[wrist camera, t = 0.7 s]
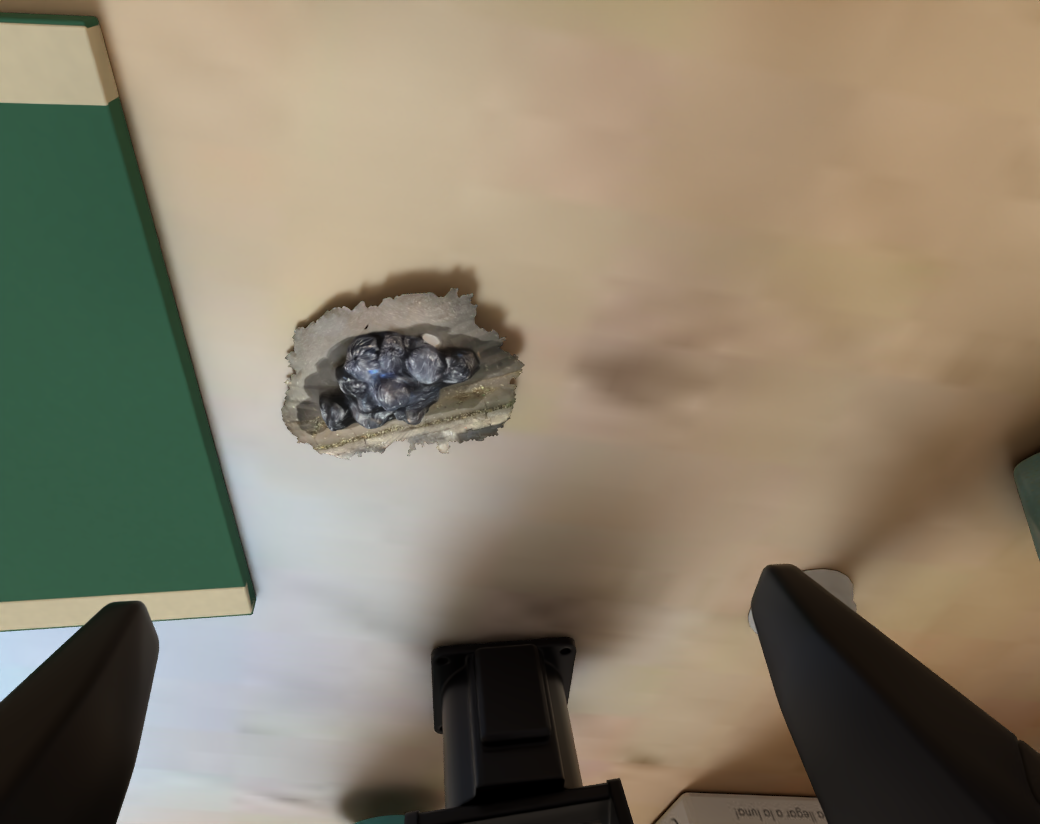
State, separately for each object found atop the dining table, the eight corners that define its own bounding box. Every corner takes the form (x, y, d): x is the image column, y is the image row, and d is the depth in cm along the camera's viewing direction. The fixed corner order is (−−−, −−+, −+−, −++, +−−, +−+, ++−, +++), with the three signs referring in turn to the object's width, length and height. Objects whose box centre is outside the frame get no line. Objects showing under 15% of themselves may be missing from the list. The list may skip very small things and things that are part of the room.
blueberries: (554, 392, 22) (564, 425, 21) (366, 501, 24) (363, 540, 23) (434, 231, 19) (436, 259, 17) (223, 375, 21) (207, 411, 19)
